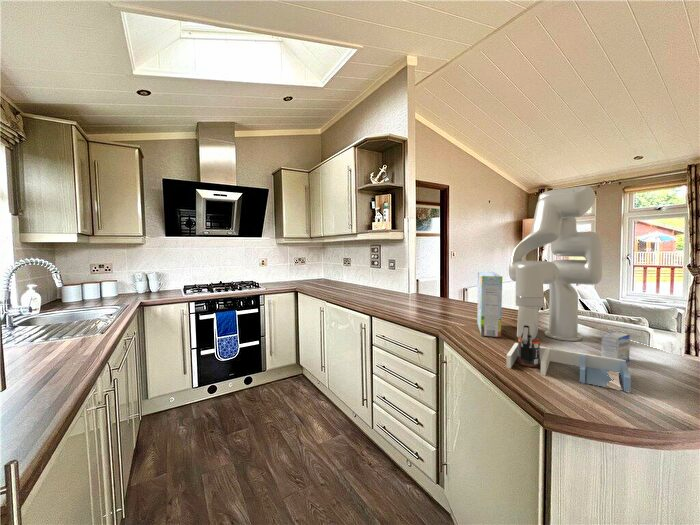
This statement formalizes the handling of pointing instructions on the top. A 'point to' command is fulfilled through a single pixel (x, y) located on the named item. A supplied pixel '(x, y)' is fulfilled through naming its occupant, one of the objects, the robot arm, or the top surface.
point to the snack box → (489, 304)
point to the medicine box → (616, 345)
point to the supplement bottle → (536, 353)
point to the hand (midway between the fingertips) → (528, 355)
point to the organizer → (593, 363)
